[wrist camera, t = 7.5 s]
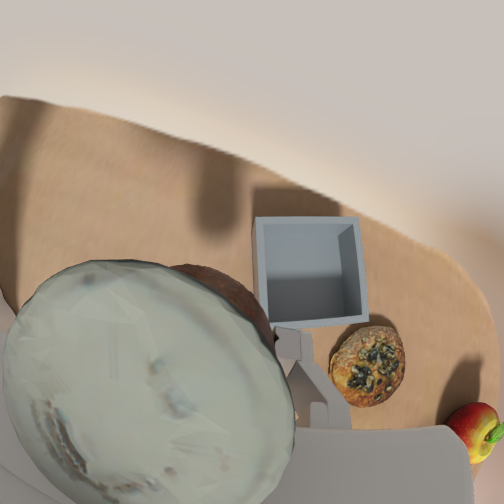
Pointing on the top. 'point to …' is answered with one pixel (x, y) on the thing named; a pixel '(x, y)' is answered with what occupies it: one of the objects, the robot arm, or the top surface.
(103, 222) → the top surface
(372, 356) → the bread roll
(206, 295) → the sauce bottle
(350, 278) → the bin
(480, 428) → the fruit
